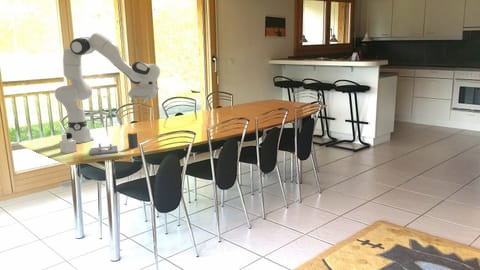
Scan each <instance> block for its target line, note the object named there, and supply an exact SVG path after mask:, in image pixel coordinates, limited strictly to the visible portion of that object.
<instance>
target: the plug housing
mask: <svg viewBox="0 0 480 270" xmlns="http://www.w3.org/2000/svg"><path fill="white" fill-rule="evenodd" d="M127 141H128V148H129V149H136V148H139V141H138V133H137V132H134V131H133V132H132V131H131V132H128V133H127Z"/></svg>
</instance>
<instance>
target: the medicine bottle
mask: <svg viewBox="0 0 480 270" xmlns="http://www.w3.org/2000/svg"><path fill="white" fill-rule="evenodd" d="M58 144H59V150H60V153H62V154H66V155H67V154H72V153H75V152H77V151H78V150H77V143H76V141H75V140H72V133H67V132H64V133H61V140H60V141H59V143H58Z"/></svg>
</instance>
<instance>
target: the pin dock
mask: <svg viewBox="0 0 480 270" xmlns="http://www.w3.org/2000/svg"><path fill="white" fill-rule="evenodd" d="M118 153H119V151H118V145H113V143H110V144H109V146H102V144H101V143H98V147H91V148H90V151H89V156H99V155H107V154H110V155H111V154H118Z"/></svg>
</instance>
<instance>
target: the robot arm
mask: <svg viewBox="0 0 480 270" xmlns="http://www.w3.org/2000/svg"><path fill="white" fill-rule="evenodd" d="M94 51H96V52H98V53H99V54H101V55H102V56H103V57H105V59H107V60H109V62H110V63H111V64H112V65H113V66H114V67H115V68H117V69H118V70H119V71H120V72H122V73H123V74H124V75H125V76H126V77H127V78H128V79H129V81H130V83H132V84H134V86H132V87H131V88H130V90H129V91H128V93H127V94H128V97H129V98H130V103H132V104H134V103H135V99H143V100H141V103H142V104H146V102H148V100H149V99H154V98H156V96H157V94H158V91H159V89H160V88H159V87H158V85H157V84H156V82H157V81H158V79H159V78H160V77H159V76H160V73H161V69H160V67H159V66H158V65H157V64H155V63H144V62H143V61H135V62H133V64H132V66H130V65H129V64H128V63H127V62H125V61H124V59H123V58H122V55H121V51H120V49H119V46H118V45H117V44H116V42H115V41H114V42H113V41H112V40H111V39H110V38H108V37H107V36H105V35H103V34H101V33H98V32H96V33H95V32H94V33H93V34H91V36H90V37H89V36H86V37H85V36H83V37H82V36H81V37H78V38H75V39H72V41H71V42H70V44H69V47H66V48H65V49H64V50H63V56H62V57H63V58H62V60H63V61H62V64H63V75H64V77H65V78H66V79H67V80H70V83H71V85H69V84H68V85H63V86H62V85H61V86H60V87H56V89H55V91H54V98H55V99H56V100H57V101H58V102H60V103H61V104H62V105H63V106H64V108H65V110H66V113H67V125H68V128H67V130H66V133H72V140H75V141H76V144H81V143H87V142H91V141H94V137H92V136H91V131H90V128H89V127H88V122H87V120H86V112H85V111H86V110H85V109H84V108H83V107H82V106H80V105H79V104H78V103H77V102H79V101H85V100H87V99H90V98H91V96H92V94H93V89H92V87H91V86H90V85H89V84H87V82H86V81H85V80H84V78H83V72H82V56H84V55H88V54H89V55H90V54H91V53H93V52H94Z"/></svg>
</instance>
